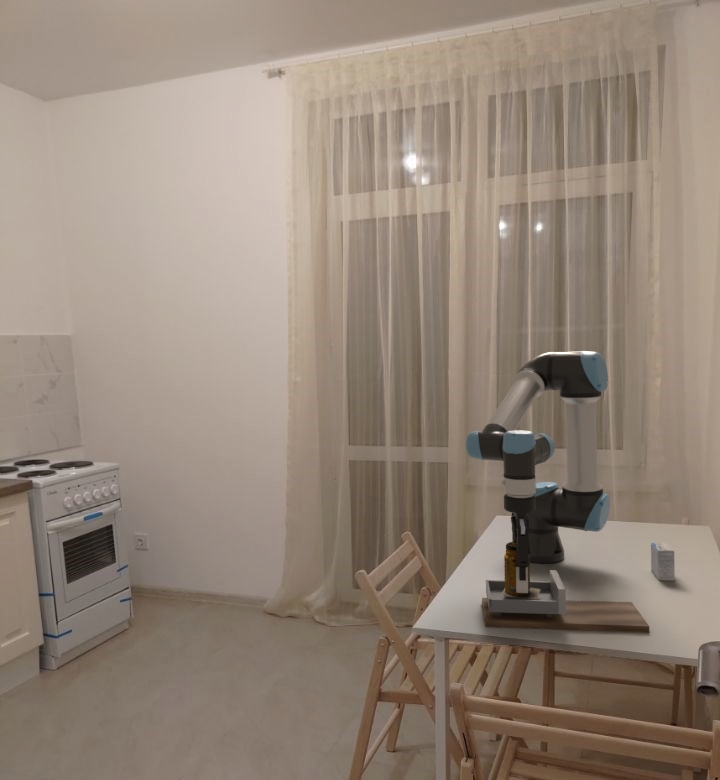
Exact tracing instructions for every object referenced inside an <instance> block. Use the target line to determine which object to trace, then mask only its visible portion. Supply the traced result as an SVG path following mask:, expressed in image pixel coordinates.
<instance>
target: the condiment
mask: <svg viewBox="0 0 720 780" xmlns="http://www.w3.org/2000/svg"><path fill="white" fill-rule="evenodd" d="M503 559H504V561H503V562H504V565H503V566H504V581H505V589H504V590H503V592H502V594H501V595H503V596H510V597H519V598H520V597H522V598H528V599H537V597H538V595H539V592H540V589H537V588H530V581H531V577H530V575H531V573H530V571H531V569H530V568H531V567H530V564H531V562H530V559H529V567H528V593H517V592H516V567H514V564H516V563H517V554H516V542H512V541H509V542H507V543H506V544H505V554H504V558H503Z"/></svg>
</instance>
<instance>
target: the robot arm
mask: <svg viewBox="0 0 720 780" xmlns="http://www.w3.org/2000/svg"><path fill="white" fill-rule="evenodd" d="M608 372H609V371H608V367H607V364H606V361H605V359H604V357H603V356H602V354H601V353H599V352H598V351H590V350H589V351H588V350H587V351H586V350H579V351H577V350H576V351H557V352H556V351H549V352H546V353H545V352H544V353H541V354H540V355H537V356H535V357H533V358H532V359H530V360H529V361H528V362H526V363H525V364H524V365H522V367H521V368H519V370H517V372H516V374H515V376H514V378H513V384H512V386H511V388H510V389H509V390H508V392H507V393H506V395H505V396H504V398H503V400H502V401H501V402H500V404H499V405H498V407H497V409H495V411H494V413H493V415H492V416H491V418H490V419H489V420H488V422H487V424H486V425H485V426H484V427H483V429H482V430H475V431H474V430H473V431H471V432H469V434H468V435H467V438H466V440H465V449H466V452H467V455H468V456H469V457H470V458H472V459H476V460H481V461H494V462H503V480H501V482H500V484H501V485H503V492H504V495H503V509H504V510H505V511H506V512H508V513H511V516H510V523H511V533H512V534H511V536H512V537H511V538H512V540H511V542H516V554H517V563H516V564H514V567H516V592H517V593H528V567H529V559H530V563H536V564H537V563H538V564H552V563H558V562H561V561H563V560H564V559H565V549H564V546H563V543H562V540H561V537H560V533H559V527H560V528H565V529H573V530H579V531H584V532H594V533H595V532H596V533H597V532H600V531H602V530H603V529H604V528H605V526H606V523H607V521H608V518H609V513H610V508H611V499H610V498H611V497H610V495H609V494H608V493H605V492H604V486H603V485H602V484H601V482H599V481H598V455H597V454H598V452H597V451H598V446H597V445H598V444H597V401H598V400H600V399H601V397H602V392H605V391H606V390H607V388H608V383H609V375H608V374H609V373H608ZM546 391H559V397H560V399H561V400H562V401H564V404H565V429H566V431H565V432H566V433H565V436H566V439H565V440H566V471H567V472H566V475H567V476H566V478H567V480H566V481H565V482H563V484H562V488H560V486H559V484H558V483H557V482H553V481H540V482H536V480H537V479H536V466H537V465H539V464H543V463H545V462H547V461H548V460H549V459H551V458H552V457H553V455H554V453H555V442H554V440H553V439H552V438H551V436H550V435H548V434H546V433H542V432H540V433H539V432H534V433H533V431H530V430H521V429H519V430H518V428H519V426H520V424H521V422H522V421H523V419H524V418H525V416H526V414H527V412H528V411H529V409H530V407H531V406H532V404H533V403H534V401H535V400H536V398H539V397H541V395H542V394H543V393H544V392H546Z"/></svg>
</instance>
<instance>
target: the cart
mask: <svg viewBox="0 0 720 780" xmlns="http://www.w3.org/2000/svg"><path fill="white" fill-rule="evenodd" d="M530 588H537V589H540V592H539V595H538V597H537V599H528V598H522V597H520V598H519V597H510V596H503V595H501V594H502V592H503V590H504V589H505V580H500V579H497V580H496V579H485V593H486V598H487V601H488V607H489V612H494V616H495V617H496V618H499V617H500V616H501V612H505V613H535V614H546V618H547V619H549V620H550V619H552V618H553V614H566V600H567V599H566V596H567V595H566V594H567V593H566V587H565V586H564V583H563V581H562V579H561V577H560V575H559V573H558V571H557V569H556V570H555V569H553V570H551V569H550V570H549V581H541V580H540V581H538V580H537V581H534V580H533V581H532V580H530Z"/></svg>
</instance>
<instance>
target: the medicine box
mask: <svg viewBox="0 0 720 780" xmlns="http://www.w3.org/2000/svg"><path fill="white" fill-rule="evenodd" d="M650 552H651V553H650V557H651V558H650V563H651V564H650V565H651V566H650V570H651V572H652V573H653V575H654V576H655V577H656V579H657V580H658V581H662V582H663V581H664V582H666V581H667V582H669V581H670V582H675V581H676V578H675V576H676V574H675V573H676V570H675V551H674V549H673V548H672V547H671V546H670V545H669V544H668V543H667V542H651V543H650Z"/></svg>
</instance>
